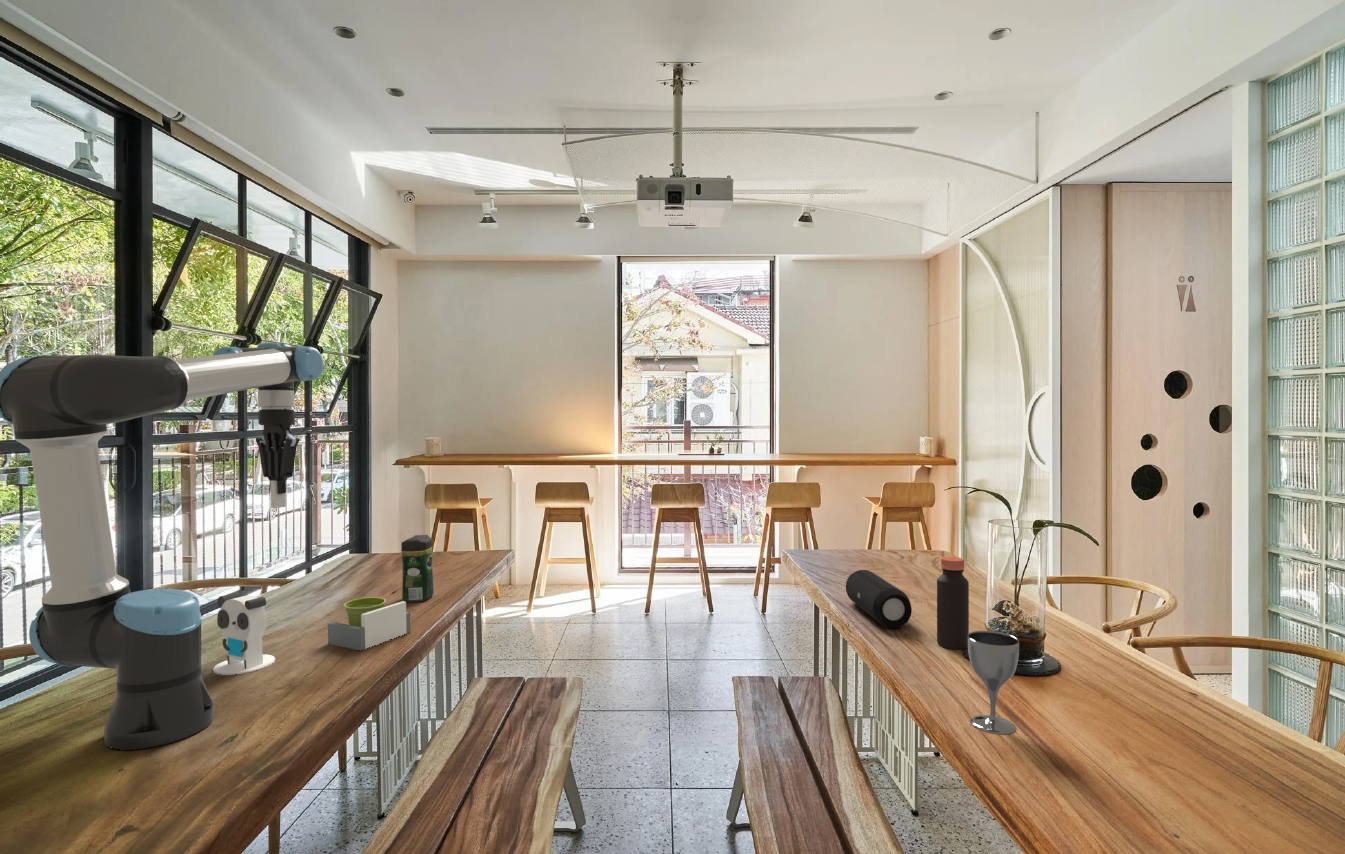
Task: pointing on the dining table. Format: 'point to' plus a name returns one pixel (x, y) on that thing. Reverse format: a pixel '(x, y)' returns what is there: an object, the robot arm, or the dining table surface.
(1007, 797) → the dining table surface
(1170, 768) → the dining table surface
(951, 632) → the bottle
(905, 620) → the portable speaker
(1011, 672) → the wine glass
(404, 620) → the box
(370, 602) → the plant pot
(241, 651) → the panda figurine
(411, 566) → the coffee jar
